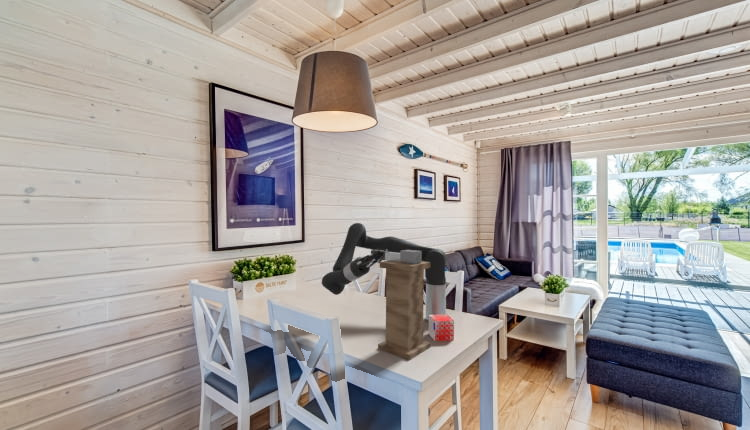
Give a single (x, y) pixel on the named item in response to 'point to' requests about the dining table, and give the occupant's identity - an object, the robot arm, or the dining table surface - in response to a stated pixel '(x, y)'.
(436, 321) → the puzzle cube
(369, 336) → the dining table surface
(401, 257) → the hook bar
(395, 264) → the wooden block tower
